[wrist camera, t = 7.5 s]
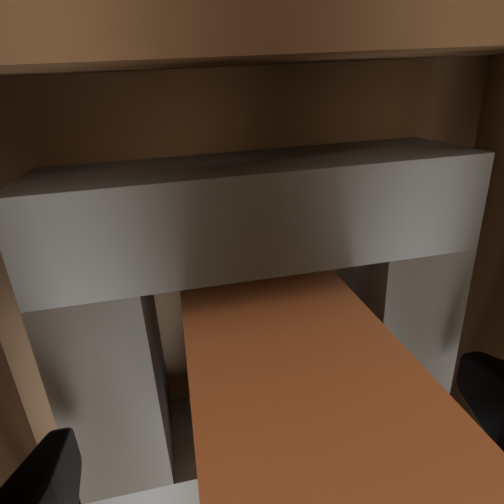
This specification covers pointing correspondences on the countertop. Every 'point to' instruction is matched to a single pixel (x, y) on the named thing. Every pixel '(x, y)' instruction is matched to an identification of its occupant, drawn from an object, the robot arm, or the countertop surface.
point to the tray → (237, 105)
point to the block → (321, 403)
